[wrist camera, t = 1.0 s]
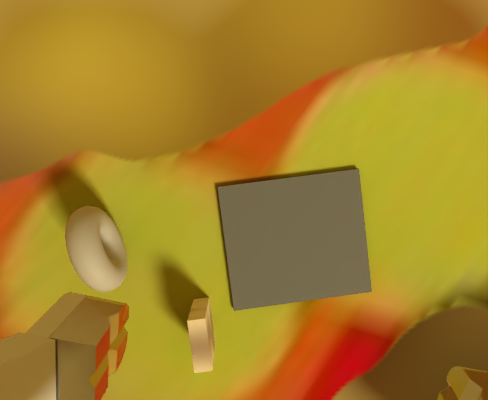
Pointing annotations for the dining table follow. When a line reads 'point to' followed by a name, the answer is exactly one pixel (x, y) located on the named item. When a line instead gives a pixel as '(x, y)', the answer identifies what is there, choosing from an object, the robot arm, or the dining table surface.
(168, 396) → the dining table surface
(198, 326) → the block
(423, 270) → the dining table surface
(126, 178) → the dining table surface
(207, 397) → the dining table surface
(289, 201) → the mat
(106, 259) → the donut
